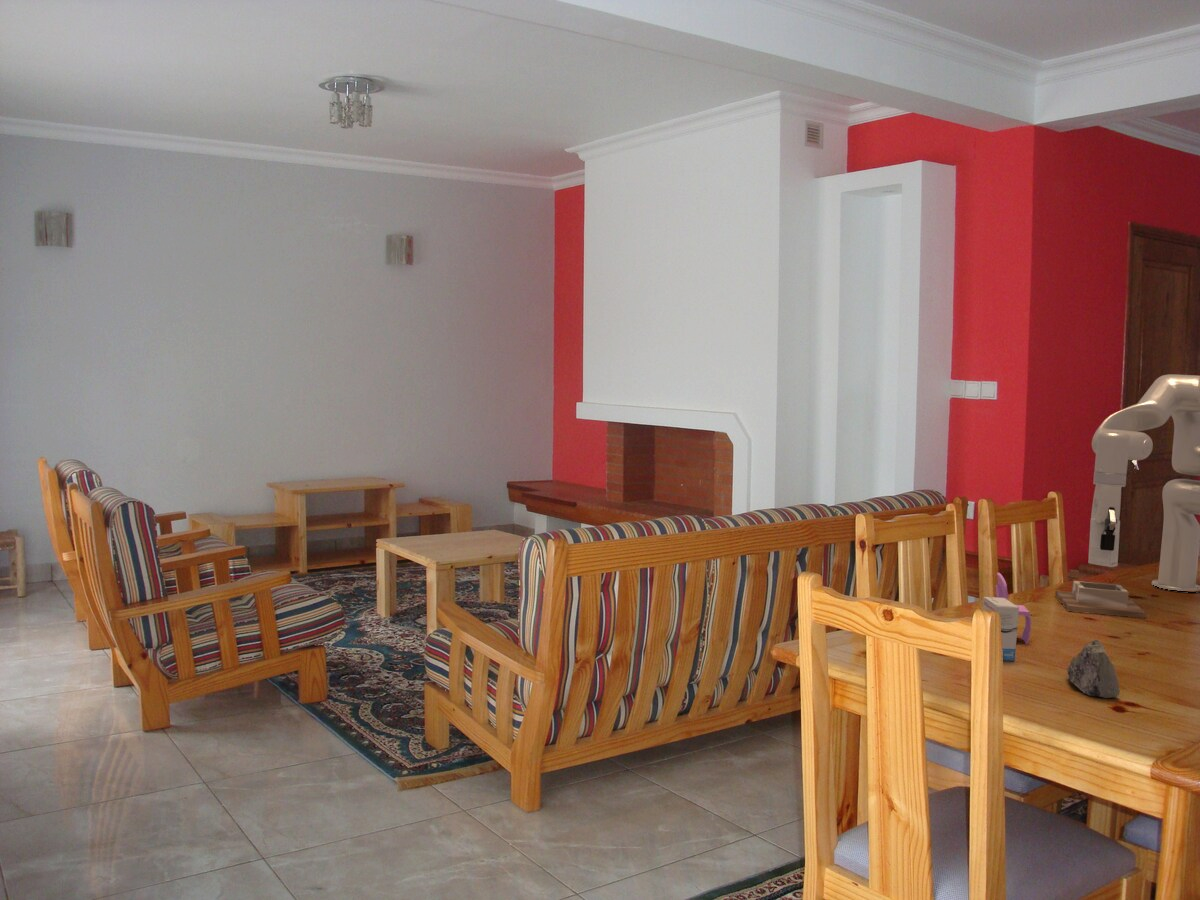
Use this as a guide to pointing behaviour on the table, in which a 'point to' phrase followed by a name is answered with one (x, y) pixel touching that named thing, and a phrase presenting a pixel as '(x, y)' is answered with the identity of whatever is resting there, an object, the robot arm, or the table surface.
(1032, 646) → the table surface
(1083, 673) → the mineral rock
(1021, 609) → the toy chair
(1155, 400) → the robot arm
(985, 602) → the ink box
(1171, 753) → the table surface
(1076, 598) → the collar plate
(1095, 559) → the skincare box
